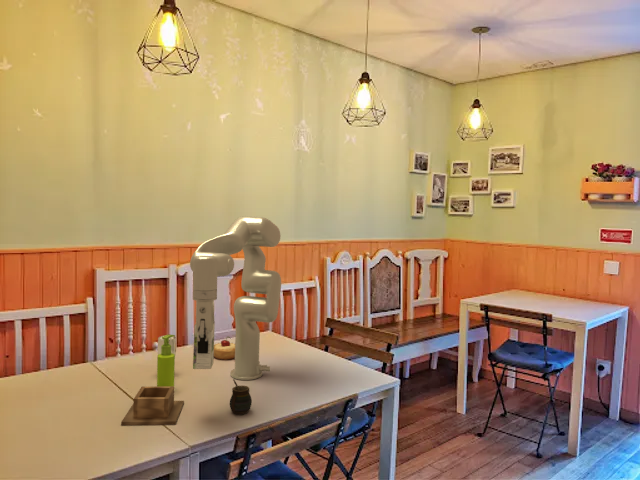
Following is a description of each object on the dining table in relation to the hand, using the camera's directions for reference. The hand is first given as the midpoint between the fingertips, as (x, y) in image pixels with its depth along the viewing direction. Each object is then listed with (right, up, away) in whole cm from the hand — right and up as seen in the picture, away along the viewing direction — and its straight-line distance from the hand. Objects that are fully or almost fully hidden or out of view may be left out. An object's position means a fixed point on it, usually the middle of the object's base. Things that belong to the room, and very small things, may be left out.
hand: (203, 349), depth 159 cm
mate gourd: (+11, -21, +4) cm, 24 cm away
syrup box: (0, -6, 0) cm, 6 cm away
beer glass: (-23, -18, +35) cm, 45 cm away
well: (-16, -20, -1) cm, 26 cm away
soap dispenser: (-18, -19, +19) cm, 33 cm away
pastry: (-5, -17, +61) cm, 63 cm away
